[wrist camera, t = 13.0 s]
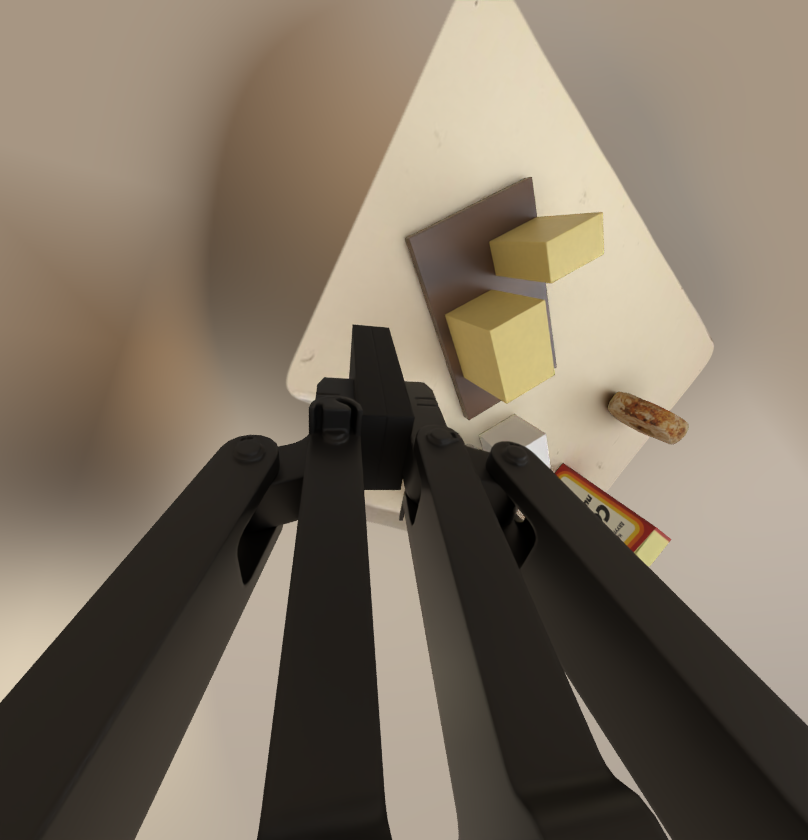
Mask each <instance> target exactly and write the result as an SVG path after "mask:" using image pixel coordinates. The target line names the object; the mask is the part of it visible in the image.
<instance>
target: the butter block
mask: <svg viewBox="0 0 808 840" xmlns="http://www.w3.org/2000/svg"><path fill="white" fill-rule="evenodd" d="M445 317H446V320H447V323H448V326H449V330H450V333H451V336H452V340H453V343H454V346H455V349H456V353H457V356H458V359H459V362H460V366H461V369H462V372H463V375H464V378H466V379H467V380H469V381H470V382H472V383H474V384H475V385H477V386H479V387H480V388H482V389H484V390H485V391H487V392H488V393H490V394H492V395H493V396H495V397H497V398H498V399H500V400H501V401H503V402H505V403H506V404H507V403H509V402H511V401H512V400H514V399H516V398H517V397H519V396H521V395H522V394H524V393H525V392H527V391H529V390H530V389H532V388H534V387H535V386H537V385H539V384H540V383H542V382H544V381H545V380H547V379H549V378H550V377H552V376H554V375H555V372H554V364H553V357H552V349H551V342H550V334H549V326H548V319H547V311H546V303H545V300H543V299H538V298H533V297H528V296H523V295H518V294H513V293H507V292H502V291H497V290H492V289H491V290H490V291H488V292H486V293H484V294H482V295H480V296H479V297H477V298H475V299H473V300H471V301H469V302H468V303H466V304H464V305H462V306H460V307H458V308H456V309H455V310H453V311H451V312H449V313H447V314H445Z"/></svg>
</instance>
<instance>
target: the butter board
mask: <svg viewBox="0 0 808 840" xmlns="http://www.w3.org/2000/svg"><path fill="white" fill-rule="evenodd" d="M536 217H537V213H536V205H535V197H534V190H533V182H532V177H528V178H524V179H522V180H520V181H518V182H516V183H514V184H513V185H511V186H509V187H507V188H505V189H503V190H501V191H499V192H497V193H495V194H493V195H491V196H489V197H487V198H485V199H483V200H481V201H479V202H477V203H475V204H473V205H471V206H469V207H467V208H465V209H463V210H461V211H459V212H457V213H455V214H453V215H451V216H449V217H447V218H445V219H443V220H441V221H439V222H437V223H435V224H433V225H431V226H429V227H427V228H425V229H423V230H421V231H419V232H417V233H415V234H413V235H411V236H409V237H407V238H405V240H406V243H407V246H408V249H409V252H410V255H411V258H412V261H413V264H414V267H415V270H416V273H417V276H418V279H419V282H420V285H421V288H422V291H423V294H424V297H425V300H426V303H427V306H428V309H429V312H430V315H431V318H432V320H433V323H434V326H435V329H436V332H437V335H438V338H439V341H440V344H441V347H442V350H443V353H444V356H445V359H446V362H447V365H448V368H449V371H450V374H451V377H452V380H453V383H454V386H455V389H456V392H457V395H458V398H459V401H460V404H461V407H462V410H463V413H464V416H465V418H467V419H468V420H470V419H472V418H473V417H475V416H477V415H478V414H480V413H482V412H483V411H485V410H487V409H488V408H490V407H492V406H493V405H495V404H497V403H498V402H500V401H501V400H500V399H498V398H497V397H495V396H493V395H492V394H490V393H488V392H487V391H485V390H484V389H482V388H480V387H479V386H477V385H475V384H474V383H472V382H470V381H469V380H467V379H466V378H464V375H463V372H462V369H461V366H460V362H459V359H458V356H457V353H456V349H455V346H454V343H453V340H452V336H451V333H450V330H449V326H448V323H447V320H446V317H445V314H447V313H449V312H451V311H453V310H455V309H456V308H458V307H460V306H462V305H464V304H466V303H468V302H469V301H471V300H473V299H475V298H477V297H479V296H480V295H482V294H484V293H486V292H488V291H490V290H491V289H492V290H497V291H502V292H507V293H513V294H518V295H523V296H528V297H533V298H538V299H543V300H545V303H546V311H547V319H548V326H549V334H550V342H551V349H552V357H553V364H554V368H556V367H557V366H556V358H555V351H554V343H553V335H552V328H551V320H550V312H549V305H548V297H547V289H546V283H544V282H537V281H530V280H523V279H516V278H508V277H501V276H496V273H495V268H494V263H493V259H492V254H491V249H490V244H489V242H490V241H491V240H493V239H495V238H497V237H499V236H501V235H503V234H505V233H507V232H509V231H511V230H513V229H515V228H516V227H518V226H520V225H522V224H524V223H526V222H528V221H530V220H532V219H534V218H536Z"/></svg>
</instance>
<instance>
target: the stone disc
mask: <svg viewBox="0 0 808 840" xmlns="http://www.w3.org/2000/svg"><path fill="white" fill-rule="evenodd" d="M608 410H609V412H610V413H611V414H612V415H613V416H614V417H616V418H617V419H618V420H620V421H621V422H622V423H624V424H626V425H628V426H629V427H631V428H633V429H635V430H637V431H638V432H641V433H643V434H645V435H648V436H650V437H653V438H656V439H658V440H661V441H663V442H666V443H668V444H675V443H677V442H678V441H680V440H681V439H682V438H683V437H684V436H685V434H686V433H687V431H688V427H689V425H688V423H687V422H686V421H685V420H683V419H682V418H680V417H678V416H677V415H675V414H674V413H672V412H670V411H668V410H666V409H664V408H662V407H660V406H658V405H655V404H653V403H651V402H648V401H646V400H642V399H641V398H638V397H636V396H634V395H632V394H629V393H622V392H617V393H616V394H615V395H614V396H613V398H612V399H611V401H610V403H609V405H608Z"/></svg>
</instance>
